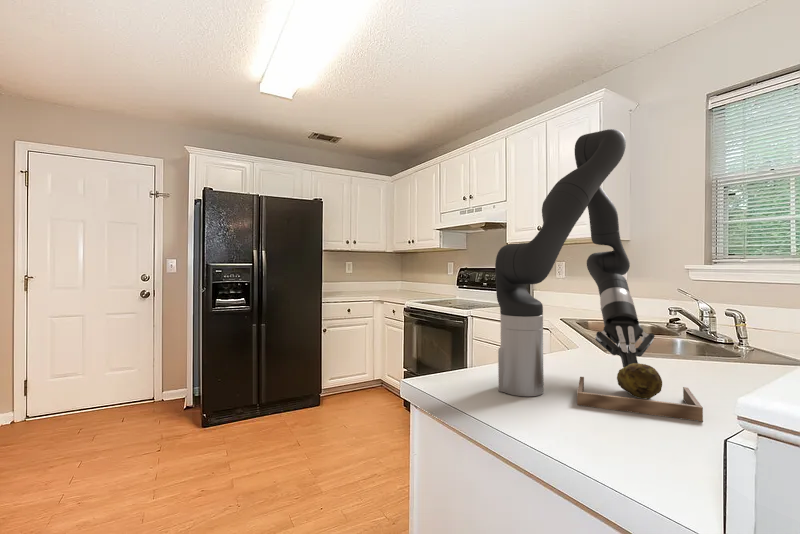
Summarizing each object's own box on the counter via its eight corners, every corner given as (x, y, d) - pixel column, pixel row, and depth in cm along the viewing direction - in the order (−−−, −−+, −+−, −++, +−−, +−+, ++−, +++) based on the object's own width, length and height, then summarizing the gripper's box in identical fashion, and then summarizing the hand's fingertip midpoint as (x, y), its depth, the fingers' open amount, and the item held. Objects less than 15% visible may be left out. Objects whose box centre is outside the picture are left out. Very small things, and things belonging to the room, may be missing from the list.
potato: (660, 393, 89) (659, 357, 89) (663, 411, 78) (663, 369, 78) (617, 388, 93) (616, 353, 93) (614, 404, 82) (614, 364, 82)
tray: (577, 405, 82) (577, 392, 82) (580, 387, 94) (580, 376, 94) (702, 421, 72) (702, 407, 72) (688, 399, 85) (687, 387, 85)
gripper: (591, 299, 102) (601, 358, 90) (650, 300, 98) (669, 362, 86) (587, 318, 107) (597, 376, 95) (644, 319, 103) (661, 380, 91)
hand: (631, 369), depth 91 cm, fingers closed
